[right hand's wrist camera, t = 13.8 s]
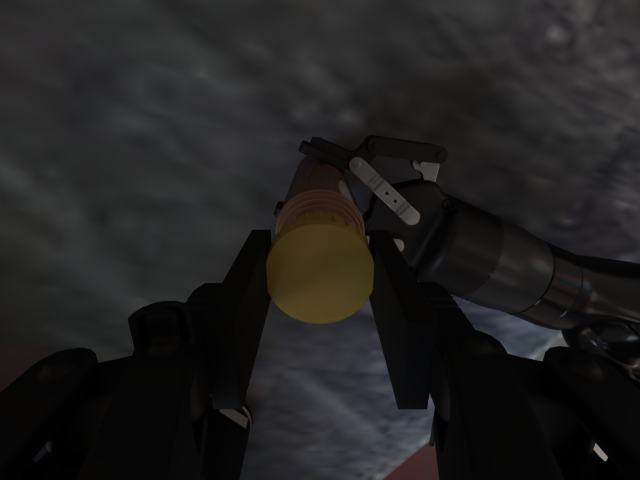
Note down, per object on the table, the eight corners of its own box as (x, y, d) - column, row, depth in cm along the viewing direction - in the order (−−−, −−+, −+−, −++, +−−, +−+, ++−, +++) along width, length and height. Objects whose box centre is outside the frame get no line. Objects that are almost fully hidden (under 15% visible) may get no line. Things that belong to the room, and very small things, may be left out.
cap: (372, 208, 14) (378, 219, 12) (371, 303, 15) (376, 322, 14) (263, 213, 14) (256, 225, 12) (273, 307, 15) (269, 327, 14)
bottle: (335, 204, 34) (357, 332, 14) (291, 191, 34) (250, 305, 14) (349, 159, 33) (395, 233, 13) (303, 145, 32) (276, 200, 12)
